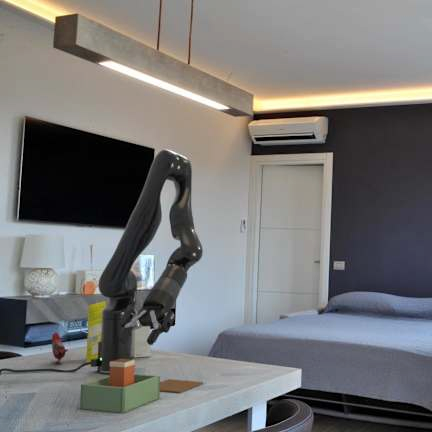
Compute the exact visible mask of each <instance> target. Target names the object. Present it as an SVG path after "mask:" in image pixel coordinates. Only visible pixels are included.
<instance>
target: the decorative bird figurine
mask: <svg viewBox="0 0 432 432" xmlns="http://www.w3.org/2000/svg"><path fill="white" fill-rule="evenodd" d="M51 349H52V350H51V351H52V355H53V356H54V358H55V359H56V360H55V362H56V364H59V365H60V364H61V362H60V361H61V360H63V358H64V357H65V355H66V352H68V350H69V349H67V348H66V347H65V345H64V344H63V342H62V340H61V336H60V335H59V333H58V332H54V333H53V334H52V337H51Z"/></svg>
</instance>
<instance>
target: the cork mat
mask: <svg viewBox="0 0 432 432" xmlns="http://www.w3.org/2000/svg"><path fill="white" fill-rule="evenodd" d="M203 384H204V382H203V381H193V380H182V379H179V380H178V379H171V378H170V379H169V378H168V379H165V380H162V381H160V391H159V392H165V393H175V394H176V393H177V394H181V393H183V392H186V391H188V390H190V389H193V388H196V387H198V386H201V385H203Z"/></svg>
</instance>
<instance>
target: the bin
mask: <svg viewBox="0 0 432 432" xmlns="http://www.w3.org/2000/svg"><path fill="white" fill-rule="evenodd" d="M109 376H110V375H109ZM109 376H105V377H102V378H98V379H96V380H92V381H88V382H85V383H82V384H80V397H79V399H80V401H79V409H81V410H89V411H90V410H91V411H101V412H111V413H120V414H121V413H123V414H124V413H125V412H128V411H130V410H134V409H137V408H138V407H141V406H144V405H146V404H148V403H151V402H154V401H156V400H159V399H160V392H161V391H160V382H161V376H160V375H154V374H141V373H140V374H139V373H134V384H132V385H129V386H126V387H113V386H109Z"/></svg>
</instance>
